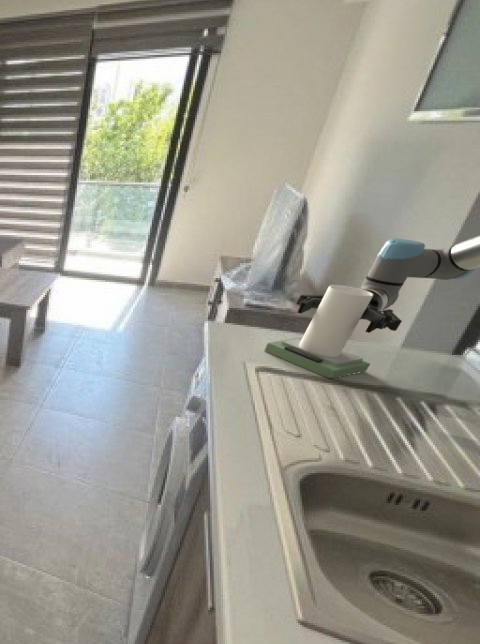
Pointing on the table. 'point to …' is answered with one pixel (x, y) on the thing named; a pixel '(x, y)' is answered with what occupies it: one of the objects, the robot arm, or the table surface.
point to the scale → (317, 359)
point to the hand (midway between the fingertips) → (334, 317)
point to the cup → (335, 320)
